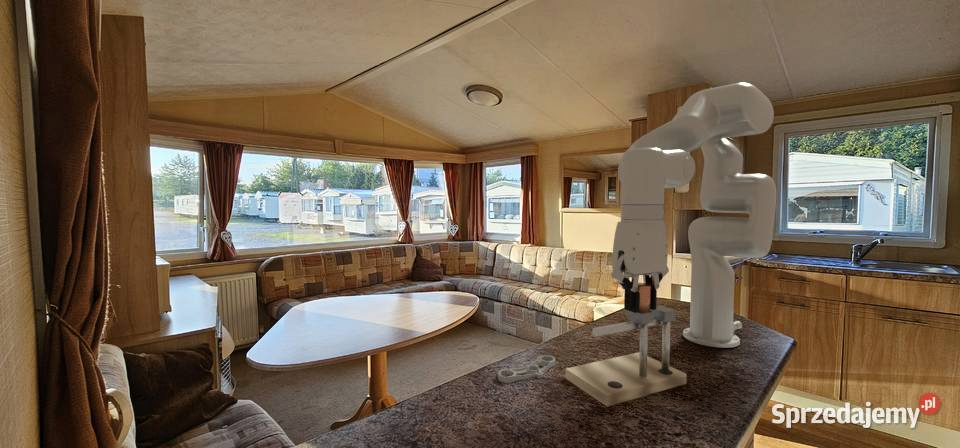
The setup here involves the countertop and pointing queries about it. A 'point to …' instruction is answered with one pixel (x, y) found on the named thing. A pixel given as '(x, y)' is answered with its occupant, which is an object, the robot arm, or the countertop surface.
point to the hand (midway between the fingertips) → (640, 308)
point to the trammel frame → (659, 317)
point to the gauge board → (623, 378)
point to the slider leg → (643, 324)
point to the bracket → (527, 370)
